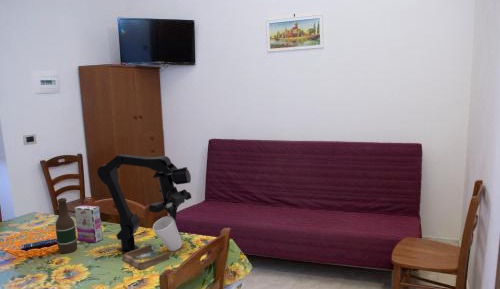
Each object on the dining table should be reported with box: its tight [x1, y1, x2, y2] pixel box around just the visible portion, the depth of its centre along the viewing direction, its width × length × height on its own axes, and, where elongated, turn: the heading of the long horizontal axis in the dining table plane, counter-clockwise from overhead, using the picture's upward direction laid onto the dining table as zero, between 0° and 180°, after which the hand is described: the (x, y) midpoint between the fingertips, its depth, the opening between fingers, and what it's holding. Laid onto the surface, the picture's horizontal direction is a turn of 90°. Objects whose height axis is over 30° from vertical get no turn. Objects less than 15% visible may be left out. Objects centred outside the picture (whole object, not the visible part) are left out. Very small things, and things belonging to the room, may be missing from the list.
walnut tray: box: [121, 243, 170, 271], centre depth 163 cm, size 14×13×2 cm
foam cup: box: [152, 215, 183, 252], centre depth 169 cm, size 10×9×13 cm
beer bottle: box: [55, 197, 78, 255], centre depth 174 cm, size 8×8×24 cm
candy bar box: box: [74, 204, 104, 244], centre depth 186 cm, size 11×5×16 cm, turn 68°
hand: (174, 220), depth 170 cm, fingers closed
